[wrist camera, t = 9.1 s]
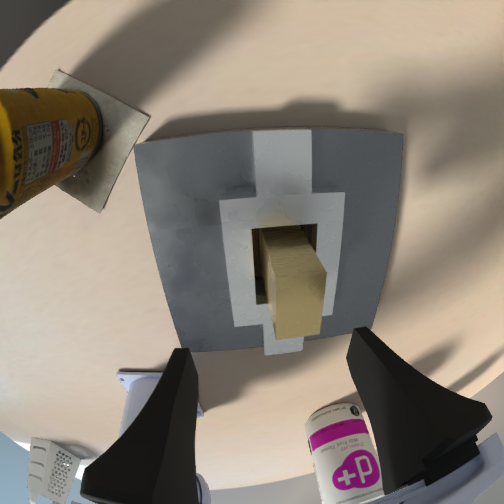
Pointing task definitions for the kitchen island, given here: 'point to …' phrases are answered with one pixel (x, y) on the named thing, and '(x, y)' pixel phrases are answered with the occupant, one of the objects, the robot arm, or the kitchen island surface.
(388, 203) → the grey square plate
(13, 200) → the condiment
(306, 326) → the wooden rectangular block
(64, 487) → the grater
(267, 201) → the bracket
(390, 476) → the robot arm
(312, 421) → the supplement can
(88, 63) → the kitchen island surface
